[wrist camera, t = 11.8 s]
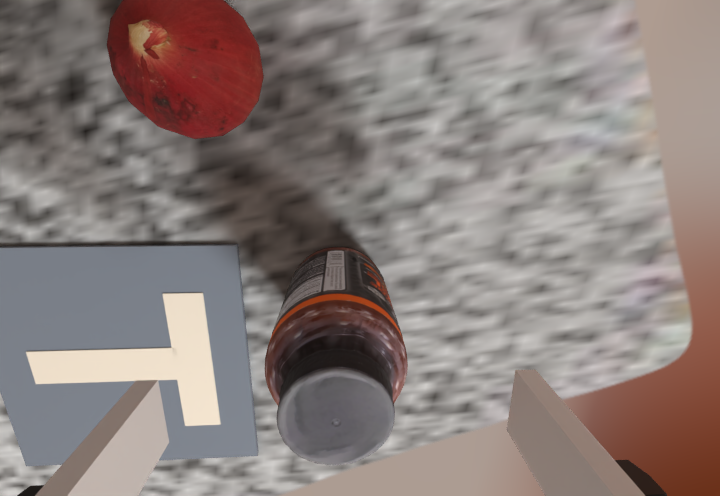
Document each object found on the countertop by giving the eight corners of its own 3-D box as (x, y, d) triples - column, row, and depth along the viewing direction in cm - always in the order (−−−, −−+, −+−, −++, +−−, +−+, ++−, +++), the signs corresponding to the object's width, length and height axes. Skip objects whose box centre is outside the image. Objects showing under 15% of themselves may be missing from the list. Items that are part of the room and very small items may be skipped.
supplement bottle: (399, 304, 23) (453, 448, 12) (320, 343, 24) (305, 516, 13) (357, 226, 21) (375, 313, 11) (272, 270, 22) (208, 398, 11)
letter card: (-45, 246, 20) (-52, 248, 20) (237, 244, 21) (235, 245, 21) (29, 462, 25) (25, 467, 25) (258, 452, 26) (257, 456, 26)
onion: (261, 152, 20) (212, 159, 12) (155, 118, 19) (31, 103, 11) (287, 41, 18) (250, -30, 11) (173, 0, 17) (45, -110, 10)
